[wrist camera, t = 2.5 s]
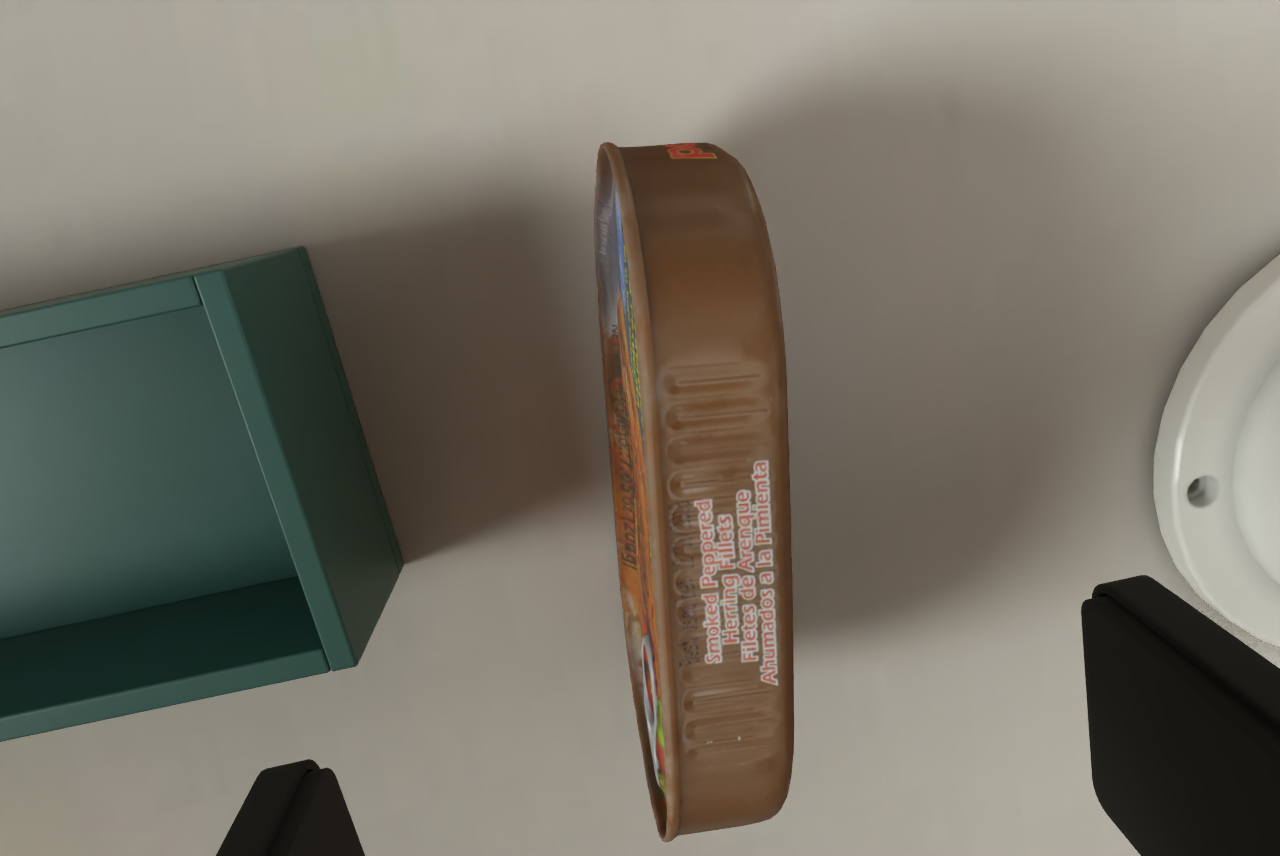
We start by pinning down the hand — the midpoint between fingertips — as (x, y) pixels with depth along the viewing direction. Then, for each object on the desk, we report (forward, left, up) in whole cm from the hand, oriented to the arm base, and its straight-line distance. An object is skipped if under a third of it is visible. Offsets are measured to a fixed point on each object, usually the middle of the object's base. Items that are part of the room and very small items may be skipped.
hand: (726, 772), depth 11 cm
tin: (0, 0, -13) cm, 13 cm away
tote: (+17, -2, -13) cm, 21 cm away
